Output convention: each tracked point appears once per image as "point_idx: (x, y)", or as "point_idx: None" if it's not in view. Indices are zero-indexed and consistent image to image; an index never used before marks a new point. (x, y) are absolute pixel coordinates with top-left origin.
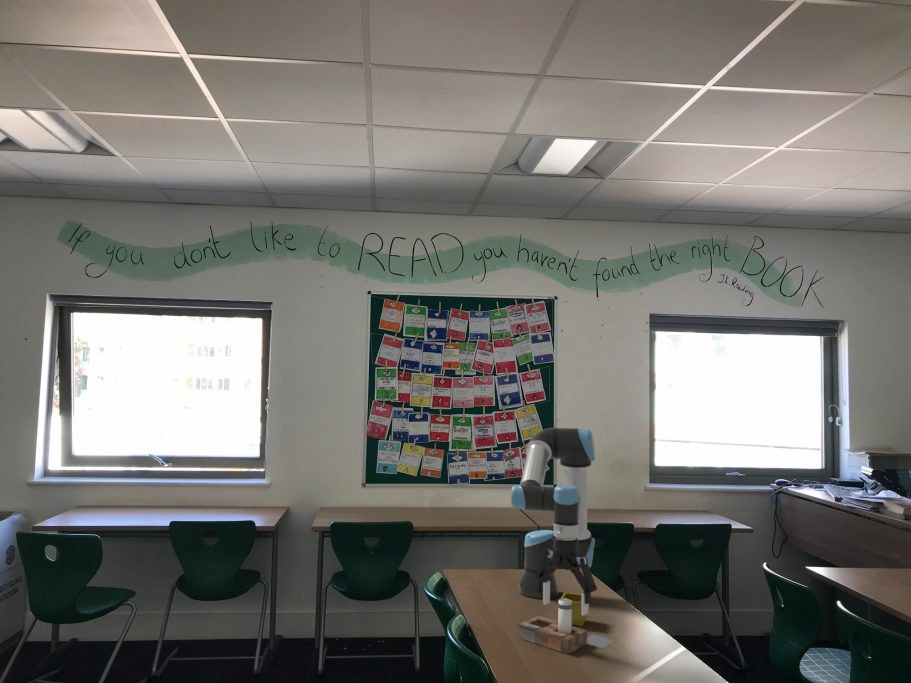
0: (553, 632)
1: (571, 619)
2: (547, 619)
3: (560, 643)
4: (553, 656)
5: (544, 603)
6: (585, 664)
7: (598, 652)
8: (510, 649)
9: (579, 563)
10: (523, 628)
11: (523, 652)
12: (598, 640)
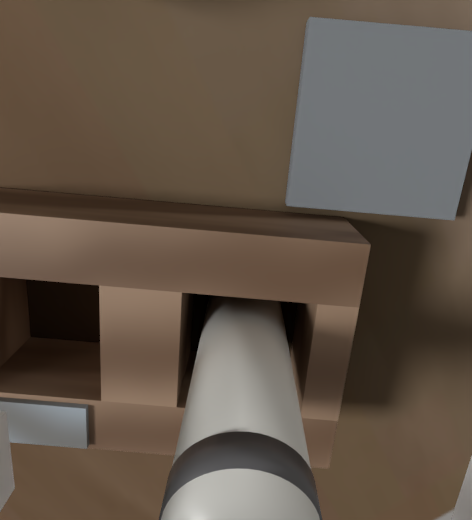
0: None
1: (296, 395)
2: (13, 228)
3: None
4: None
5: (3, 496)
6: (417, 417)
7: (426, 241)
8: (54, 474)
9: None
10: None
11: (118, 468)
12: (389, 110)
